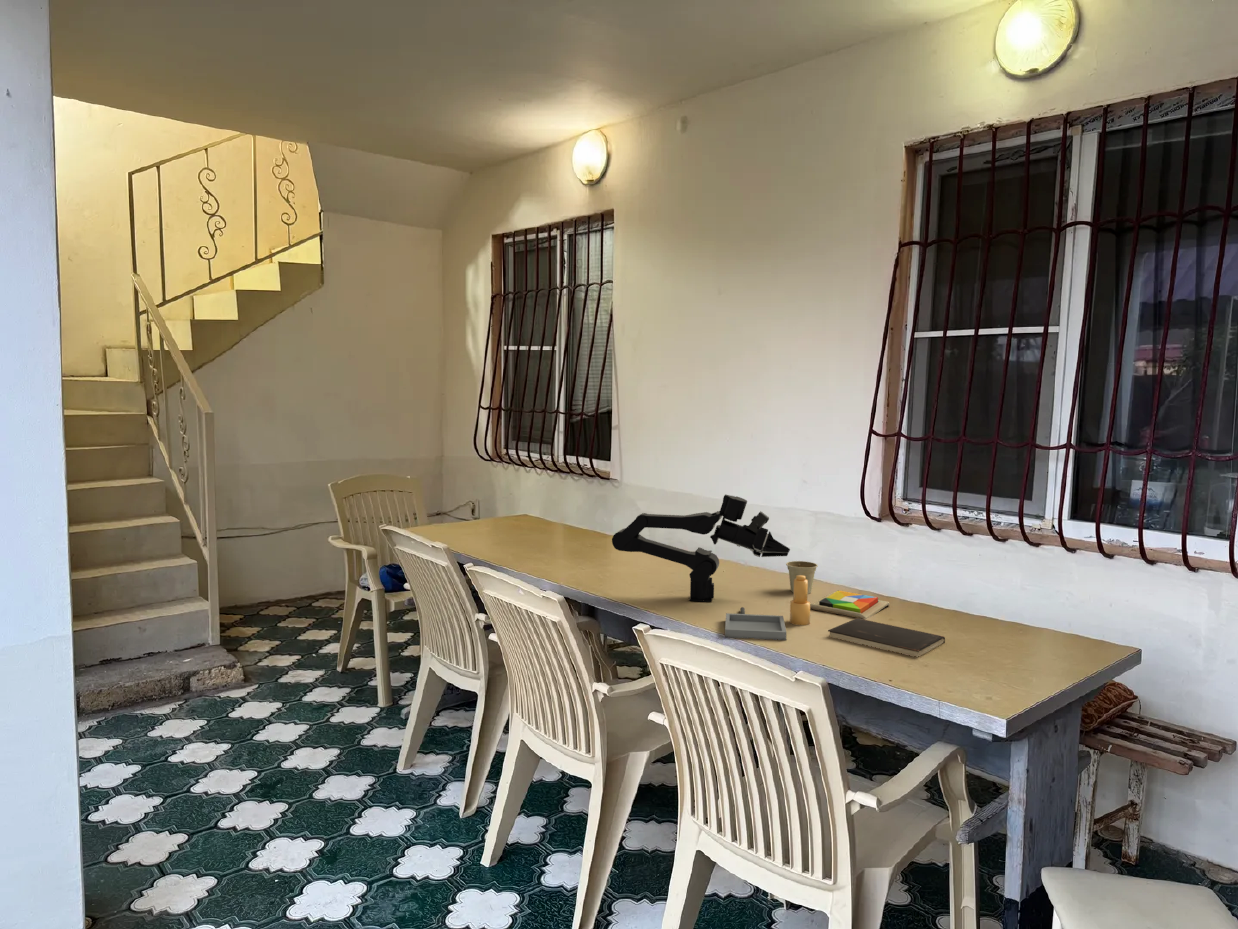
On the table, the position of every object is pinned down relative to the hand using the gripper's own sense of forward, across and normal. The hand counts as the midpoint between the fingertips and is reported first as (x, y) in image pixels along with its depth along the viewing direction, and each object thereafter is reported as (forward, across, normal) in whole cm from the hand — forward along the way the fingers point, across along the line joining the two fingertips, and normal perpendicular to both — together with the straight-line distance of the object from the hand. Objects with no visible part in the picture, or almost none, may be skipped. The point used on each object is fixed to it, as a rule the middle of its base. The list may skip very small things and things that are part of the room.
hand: (788, 552), depth 232 cm
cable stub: (-6, -8, +22) cm, 24 cm away
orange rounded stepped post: (+8, -12, +18) cm, 23 cm away
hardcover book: (+29, -23, +16) cm, 40 cm away
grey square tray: (-2, -20, +24) cm, 32 cm away
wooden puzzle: (+21, +6, +9) cm, 24 cm away
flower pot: (+8, +21, +8) cm, 23 cm away
